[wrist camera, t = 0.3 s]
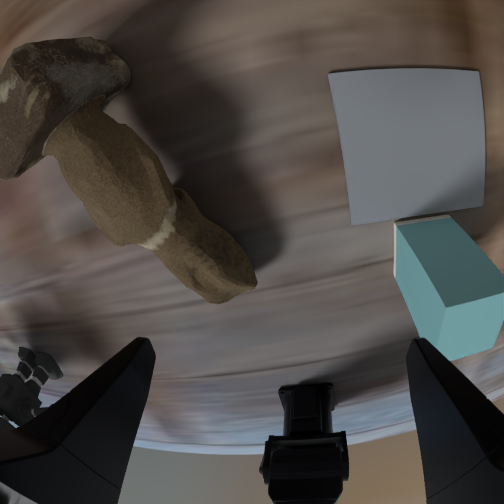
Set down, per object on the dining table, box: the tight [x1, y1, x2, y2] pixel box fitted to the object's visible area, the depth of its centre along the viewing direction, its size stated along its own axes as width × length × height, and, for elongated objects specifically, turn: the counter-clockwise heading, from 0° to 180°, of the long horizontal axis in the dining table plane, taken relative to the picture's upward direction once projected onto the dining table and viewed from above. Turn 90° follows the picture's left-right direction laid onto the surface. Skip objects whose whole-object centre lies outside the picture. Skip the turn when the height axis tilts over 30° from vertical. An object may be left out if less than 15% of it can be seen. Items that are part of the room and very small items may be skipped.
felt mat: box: [327, 68, 485, 225], centre depth 18 cm, size 11×12×1 cm
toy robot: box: [0, 347, 63, 430], centre depth 27 cm, size 22×9×30 cm, turn 97°
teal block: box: [394, 214, 504, 361], centre depth 18 cm, size 5×5×10 cm
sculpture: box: [0, 37, 258, 304], centre depth 18 cm, size 8×22×15 cm
